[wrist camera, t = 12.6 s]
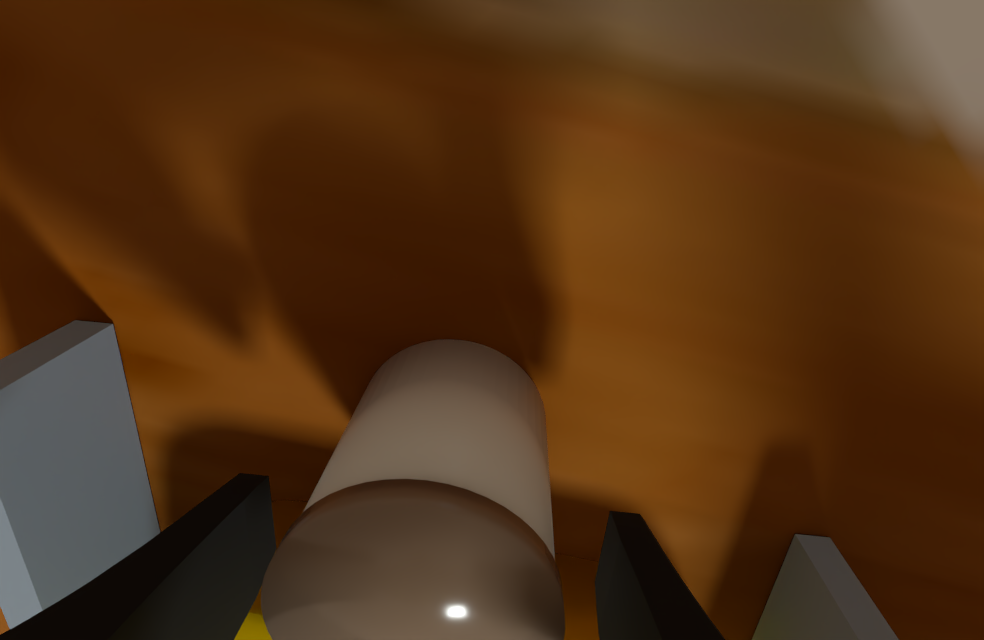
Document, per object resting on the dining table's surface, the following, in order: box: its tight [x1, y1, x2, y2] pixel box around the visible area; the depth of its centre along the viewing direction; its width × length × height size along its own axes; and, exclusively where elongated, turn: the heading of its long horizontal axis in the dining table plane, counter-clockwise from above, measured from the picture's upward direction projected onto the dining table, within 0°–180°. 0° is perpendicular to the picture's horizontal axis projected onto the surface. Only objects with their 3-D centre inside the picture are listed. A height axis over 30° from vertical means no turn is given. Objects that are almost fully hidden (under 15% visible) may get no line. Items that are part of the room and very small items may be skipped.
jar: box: [261, 339, 565, 640], centre depth 12 cm, size 5×5×6 cm
